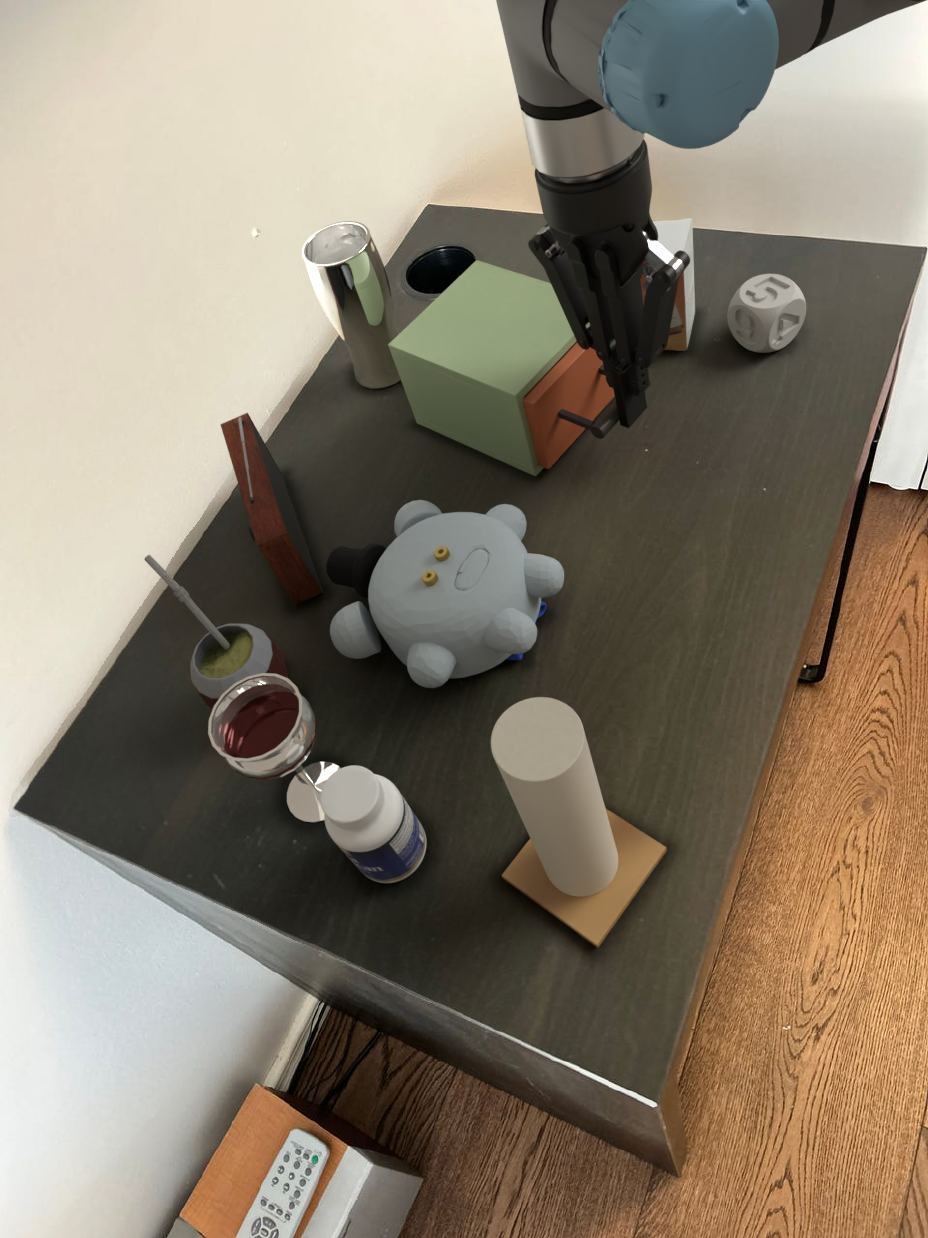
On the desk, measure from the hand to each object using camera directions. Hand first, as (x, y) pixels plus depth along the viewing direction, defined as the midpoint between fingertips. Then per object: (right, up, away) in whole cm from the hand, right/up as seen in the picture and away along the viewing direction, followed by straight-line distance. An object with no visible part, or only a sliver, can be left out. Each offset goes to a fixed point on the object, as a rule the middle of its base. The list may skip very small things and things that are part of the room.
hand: (633, 416), depth 82 cm
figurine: (-16, -17, -1) cm, 23 cm away
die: (+14, +9, +8) cm, 19 cm away
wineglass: (-25, -30, -8) cm, 40 cm away
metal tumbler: (-23, +9, +18) cm, 30 cm away
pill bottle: (-19, -34, -12) cm, 41 cm away
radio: (-30, -10, +7) cm, 33 cm away
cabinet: (-9, +3, +11) cm, 15 cm away
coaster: (-6, -34, -16) cm, 38 cm away
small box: (+4, +11, +12) cm, 17 cm away
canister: (-6, -33, -17) cm, 38 cm away
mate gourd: (-31, -24, -2) cm, 39 cm away
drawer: (-6, +2, +8) cm, 10 cm away
